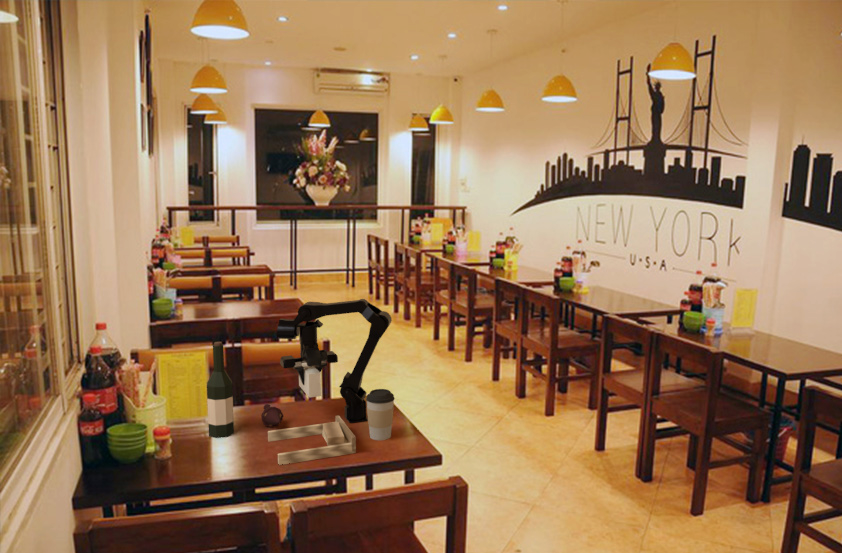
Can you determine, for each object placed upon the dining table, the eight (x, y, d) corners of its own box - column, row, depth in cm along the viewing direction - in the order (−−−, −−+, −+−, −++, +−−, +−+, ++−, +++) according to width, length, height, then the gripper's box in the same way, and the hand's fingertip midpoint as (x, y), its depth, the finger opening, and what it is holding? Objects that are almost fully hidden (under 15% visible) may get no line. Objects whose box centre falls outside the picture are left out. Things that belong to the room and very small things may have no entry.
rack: (339, 430, 210) (339, 415, 209) (355, 452, 192) (355, 437, 192) (268, 440, 201) (267, 425, 201) (278, 465, 184) (278, 448, 183)
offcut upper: (338, 429, 206) (338, 422, 205) (344, 444, 194) (344, 436, 194) (322, 430, 204) (322, 423, 204) (327, 445, 193) (327, 437, 193)
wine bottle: (238, 428, 211) (235, 339, 206) (228, 438, 202) (225, 346, 198) (214, 427, 211) (210, 339, 207) (203, 437, 203) (199, 345, 199)
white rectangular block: (310, 383, 227) (309, 362, 226) (321, 396, 214) (320, 372, 213) (299, 385, 225) (298, 363, 224) (309, 397, 213) (308, 374, 212)
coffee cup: (360, 438, 203) (360, 392, 201) (375, 428, 211) (375, 384, 209) (385, 443, 199) (385, 397, 197) (399, 433, 207) (399, 389, 205)
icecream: (292, 412, 208) (276, 402, 221) (270, 410, 204) (256, 400, 217) (288, 433, 208) (273, 422, 221) (266, 432, 204) (252, 421, 217)
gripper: (286, 347, 206) (287, 394, 208) (342, 342, 214) (342, 387, 216) (279, 340, 216) (280, 384, 218) (332, 334, 224) (333, 377, 226)
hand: (309, 383), depth 219 cm, fingers closed on white rectangular block, 4 cm apart
